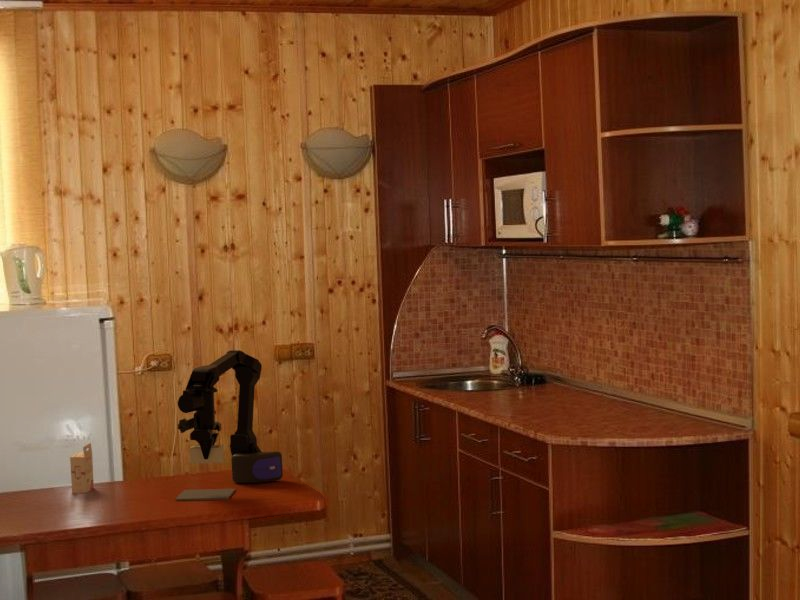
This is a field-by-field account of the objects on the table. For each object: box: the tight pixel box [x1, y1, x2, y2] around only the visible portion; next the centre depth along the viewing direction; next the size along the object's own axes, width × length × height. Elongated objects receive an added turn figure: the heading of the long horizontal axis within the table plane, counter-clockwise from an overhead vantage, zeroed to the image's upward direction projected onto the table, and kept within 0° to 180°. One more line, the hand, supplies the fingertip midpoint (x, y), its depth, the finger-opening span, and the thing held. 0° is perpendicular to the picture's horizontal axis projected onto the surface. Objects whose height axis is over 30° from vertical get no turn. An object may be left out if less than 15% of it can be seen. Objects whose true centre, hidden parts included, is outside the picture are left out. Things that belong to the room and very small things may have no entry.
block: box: [189, 444, 225, 465], centre depth 369 cm, size 3×10×5 cm, turn 88°
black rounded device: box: [230, 450, 284, 484], centre depth 383 cm, size 16×5×9 cm, turn 98°
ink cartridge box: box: [69, 442, 95, 494], centre depth 378 cm, size 9×5×15 cm, turn 179°
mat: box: [175, 488, 236, 502], centre depth 366 cm, size 13×16×1 cm
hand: (207, 458), depth 369 cm, fingers closed on block, 3 cm apart
